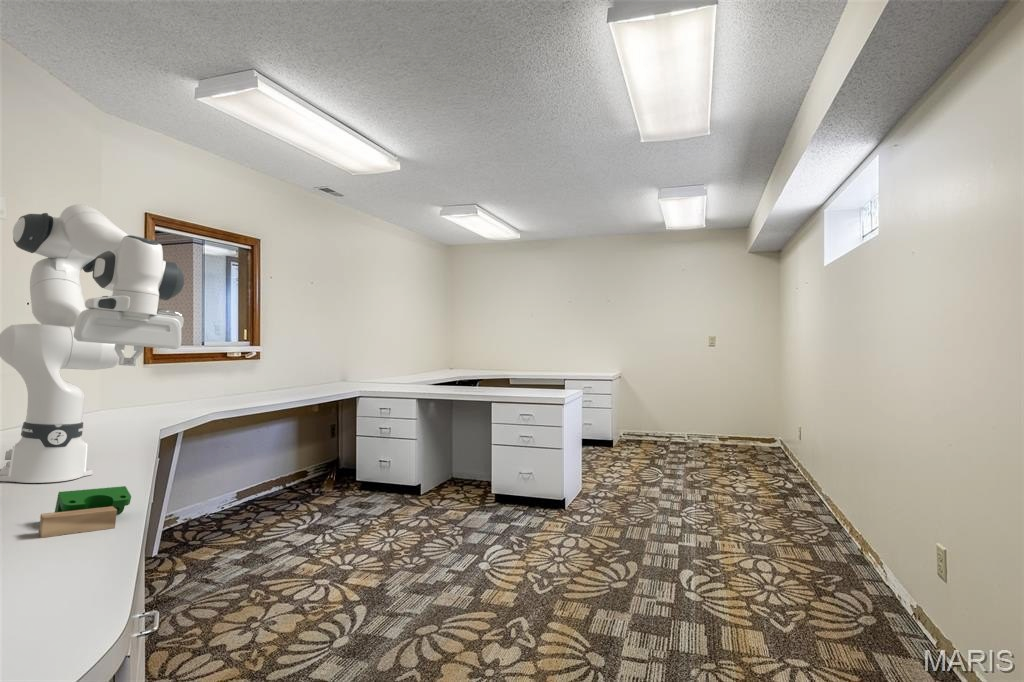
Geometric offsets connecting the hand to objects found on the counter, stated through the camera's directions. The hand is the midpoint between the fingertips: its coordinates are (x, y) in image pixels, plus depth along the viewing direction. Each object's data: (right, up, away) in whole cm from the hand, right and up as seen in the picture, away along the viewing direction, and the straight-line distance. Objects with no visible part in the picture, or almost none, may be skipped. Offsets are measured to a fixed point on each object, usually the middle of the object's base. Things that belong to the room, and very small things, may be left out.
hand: (126, 365), depth 122 cm
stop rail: (+6, -31, -21) cm, 37 cm away
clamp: (+3, -31, -14) cm, 34 cm away
